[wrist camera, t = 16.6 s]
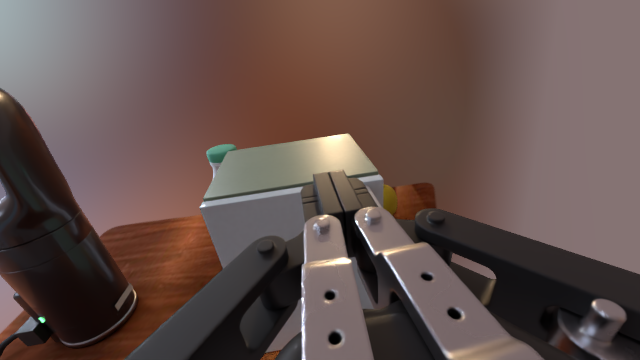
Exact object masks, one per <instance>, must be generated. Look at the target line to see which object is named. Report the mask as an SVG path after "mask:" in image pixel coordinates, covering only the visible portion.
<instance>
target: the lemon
mask: <svg viewBox="0 0 640 360" xmlns="http://www.w3.org/2000/svg"><path fill="white" fill-rule="evenodd" d="M396 208H397V196H396V193H395V191H394V190H393V189H392V188H391V187H390V186H388V185H384V184H383V209H385V210H387V211H388V212H389V213H390V214H391V215H393V214H394V213H395V211H396Z"/></svg>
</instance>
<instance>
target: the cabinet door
mask: <svg viewBox="0 0 640 360" xmlns="http://www.w3.org/2000/svg"><path fill="white" fill-rule="evenodd" d="M357 179H359V180H361V181H363V183H364V185H365V186H366V188H367V189H368V191H369V193H370V194H371V196H372V197H373V199H374V201H375V202H376V204H377V205H378V207H379V208H383V178H382V177H381V176H380V175H374V176H368V177H361V178H357ZM302 188H303V187H297V188H290V189H284V190H277V191H271V192H264V193H258V194H252V195H245V196H239V197H232V198H226V199H219V200H213V201H206V202H203V203H202V205H201V206H200V210H201V213H202V215H203V218H204V221H205V223H206V226H207V228H208V231H209V234H210V236H211V239H212V241H213V244H214V247H215V249H216V252H217V254H218V257H219V260H220V262H221V265H222V267H223V269H224V268H225V267H226V266H227V265H228V264H229V263H230V262H231V261H233V260H234V259H235V258H236V257H237V256H238V255H239V254H240V253H241V252H242V251H244V250H245V249H246V248H247V247H248V246H249V245H250V244H251V243H252V242H254V241H255V240H257V239H259V238H261V237H265V236H279V237H281V238H283V239H284V240H285V242H286V241H288V240H291V239H293V238H295V237H296V236H298V235H299V234H300V233H301V232H302V231H303V230H304V225H305V220H304V213H303V206H302V199H301V193H300V191H301V190H302ZM350 259H351V262H352V267H353V271H354V275H355V279H356V284H357V288H358V292H359V297H360V301H361V305H362V309H374V308H373V306H372V303H371V301H370V299H369V297H368V295H367V292H366V290H365V288H364V286H363V284H362V281H361V279H360V277H359V275H358V272H357V261H356V258H355V257H352V258H350ZM301 331H302V299H300V300H298V304H297V307H296V309H295V310H294V312H293V313H292V315H291V316H290V317H289V319H288V320H287V322H286V323H285V325H284V326H283V328H282V329H281V330H280V332H279V333H278V335H277V336H276V338H275V339H274V341H273V342H272V343H271V345H270V346H269V348H268V349H267V351H266V352H265V353H267V352H272V351H277V350H282V349H283V347H284V346H285V345H286V344H287V343H288V342H289V341H290V340H291V339H292V338H293V337H295V336H296V335H297V334H298V333H300V332H301Z"/></svg>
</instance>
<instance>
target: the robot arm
mask: <svg viewBox="0 0 640 360" xmlns="http://www.w3.org/2000/svg"><path fill="white" fill-rule="evenodd" d="M313 181H314V184H311V185H305V186H303V188H302V190H301V191H300V193H301V199H302V206H303V213H304V220H305V225H304V230H303V231H302V232H301V233H300V234H299V235H298V236H296V237H295V238H293V239H291V240H288V241H286V242H285V240H284V239H283V238H281V237H279V236H265V237H261V238H259V239H257V240H255V241H254V242H252V243H251V244H250V245H249V246H248V247H247V248H246V249H245V250H244V251H242V252H241V253H240V254H239V255H238V256H237V257H236V258H235V259H234V260H233V261H231V262H230V263H229V264H228V265H227V266H226V267H225V268H224V269H223V270H222V271H221V272H219V273H218V274H217V275H216V276H215V277H214V278H213V279H212V280H211V281H210V282H208V283H207V284H206V285H205V286H204V287H203V288H202V289H201V290H200V291H199V292H197V293H196V294H195V295H194V296H193V297H192V298H191V299H190V300H189V301H188V302H186V303H185V304H184V305H183V306H182V307H181V308H180V309H179V310H178V311H177V312H175V313H174V314H173V315H172V316H171V317H170V318H169V319H168V320H167V321H166V322H165V323H163V324H162V325H161V326H160V327H159V328H158V329H157V330H156V331H155V332H154V333H152V334H151V335H150V336H149V337H148V338H147V339H146V340H145V341H144V342H143V343H141V344H140V345H139V346H138V347H137V348H136V349H135V350H134V351H133V352H132V353H130V354H129V355H128V356H127V357H126V358H125V359H124V360H260V359H261V358H262V356H263V355H264V354H265V352H266V351H267V349H268V348H269V346H270V345H271V343H272V342H273V341H274V339H275V338H276V336H277V335H278V333H279V332H280V330H281V329H282V328H283V326H284V325H285V323H286V322H287V320H288V319H289V317H290V316H291V315H292V313H293V312H294V310H295V309H296V307H297V304H298V300H300V299H302V331H301V332H300V333H298V334H297V335H296V336H295V337H293V338H292V339H291V340H290V341H289V342H288V343H287V344H286V345H285V346H284V347H283V349H282V350H281V351H280V352H279V354H278V355H277V357H276V358H275V360H640V274H637V273H633V272H630V271H628V270H624V269H621V268H618V267H615V266H612V265H609V264H606V263H603V262H600V261H597V260H593V259H591V258H587V257H585V256H581V255H578V254H575V253H572V252H569V251H566V250H563V249H560V248H557V247H554V246H551V245H548V244H545V243H542V242H539V241H536V240H532V239H529V238H526V237H523V236H520V235H517V234H514V233H511V232H508V231H505V230H502V229H499V228H495V227H492V226H490V225H487V224H483V223H480V222H477V221H474V220H471V219H468V218H465V217H462V216H459V215H456V214H453V213H450V212H447V211H443V210H440V209H424V210H421V211H419V212H418V213H417V214H416V216H415V220H401V219H395V218H394V217H393V216H392V215H391V214H390V213H389V212H388V211H387V210H385V209H383V208H379V207H378V205H377V204H376V202H375V201H374V199H373V197H372V196H371V194H370V193H369V191H368V189H367V188H366V186H365V185H364V183H363V181H361V180H359V179H357V178H356V177H354V178H348V177H347V175H346V173H345V171H344V170H336V171H330V172H324V173H317V174H313ZM0 182H1V184H2V186H3V187H4V189H5V192H6V196H5V197H4V198H3V199H1V200H0V275H1V276H2V278H3V279H4V280H5V281H6V282H7V283H8V284H9V285H10V286H11V287H12V288H13V289H14V290H15V291H16V293H15V294H14V299H15V300H16V301H17V303H19V304H20V306H21V307H22V308H23V309H24V310H25V311H26V312H27V313H28V314H29V315H30V316H31V317H30V318H29V319H28V320H27V321H26V322H25V323H24V325H23V326H22V327H21V328H20V329H19V330H18V331H17V332H16V333H14V334H13V335H11V336H10V337H8V338H7V339H6V340H4V341H3V342H2V343H1V344H0V356H1V355H2V353H3V351H4V349H5V348H6V346H7V345H9V344H10V343H11V342H12V341H13V340H15V339H16V338H19V339H20V340H21V341H22V342H24V343H25V344H26V345H27V346H32V345H37V344H43V343H45V342H46V341H47V340H48V339H49V337H51V338H52V339H53V340H54V341H55V342H62V343H63V344H64V345H65V346H67V347H69V348H81V347H85V346H89V345H91V344H94V343H96V342H98V341H100V340H102V339H104V338H106V337H107V336H109V335H110V334H112V333H113V332H114V331H116V330H117V329H118V328H119V327H121V326H122V325H123V324H124V323H125V322H126V321H127V320H128V318H129V317H130V316H131V315H132V313H133V312H134V310H135V308H136V306H137V303H138V296H137V294H136V293H135V291H134V290H133V287H132V285H131V283H130V284H129V283H128V282H127V280H126V278H125V277H124V275H123V274H122V272H121V270H120V269H119V267H118V266H117V264H116V263H115V261H114V259H113V258H112V256H111V255H110V253H109V252H108V250H107V249H106V247H105V245H104V244H103V242H102V241H101V239H100V238H99V236H98V234H97V233H96V231H95V230H94V228H93V227H92V225H91V224H90V222H89V221H88V219H87V218H86V216H85V215H84V213H83V212H82V210H81V208H80V207H79V205H78V204H77V202H76V200H75V199H74V197H73V195H72V192H71V189H70V187H69V185H68V183H67V181H66V179H65V177H64V175H63V174H62V172H61V170H60V169H59V167H58V165H57V164H56V162H55V160H54V158H53V156H52V155H51V153H50V151H49V149H48V147H47V145H46V144H45V141H44V140H43V138H42V136H41V134H40V132H39V130H38V129H37V127H36V125H35V124H34V122H33V120H32V119H31V117H30V116H29V114H28V113H27V111H26V110H25V109H24V107H23V106H22V105H21V104H20V103H19V102H18V101H17V100H16V99H15V98H14V97H13V96H12V95H10V94H9V93H8V92H6V91H5V90H3V89H1V88H0ZM452 253H455V254H457V255H460V256H462V257H464V258H467V259H469V260H472V261H474V262H477V263H479V264H481V265H483V266H486V267H488V268H489V269H491V270H492V271H493V272H494V274H495V275H496V279H490V278H487V277H485V276H483V275H480V274H478V273H476V272H474V271H471V270H469V269H467V268H465V267H462V266H460V265H458V264H456V263H453V262H451V258H452ZM352 257H355V258H356V261H357V272H358V275H359V277H360V279H361V281H362V284H363V286H364V288H365V290H366V292H367V295H368V297H369V299H370V301H371V303H372V306H373V308H374V309H362V305H361V301H360V297H359V292H358V288H357V284H356V279H355V275H354V271H353V267H352V262H351V259H350V258H352Z"/></svg>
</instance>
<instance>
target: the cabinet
mask: <svg viewBox="0 0 640 360" xmlns="http://www.w3.org/2000/svg"><path fill="white" fill-rule="evenodd" d="M336 170H344V171H345V173H346V175H347V177H348V178H354V177H356V178H361V177H368V176H374V175H378V170H377V169H376V168H375V167H374V165H373V164H372V163H371V161H370V160H369V159H368V158H367V156H366V155H365V154H364V153H363V151H362V150H361V149H360V148H359V146H358V145H357V144H356V143H355V142H354V140H353V139H352V137H351V136H350V135H349V134H343V135H336V136H329V137H323V138H316V139H309V140H302V141H296V142H289V143H282V144H275V145H268V146H261V147H255V148H248V149H241V150H234V151H228V152H227V154H226V156H225V157H224V159H223V161H222V163H221V165H220V167H219V169H218V171H217V173H216V175H215V177H214V179H213V181H212V182H211V184H210V187H209V188H208V190H207V192H206V194H205V196H204V198H203V200H204V202H206V201H213V200H219V199H226V198H232V197H239V196H245V195H252V194H258V193H264V192H271V191H277V190H284V189H290V188H297V187H303V186H305V185H311V184H314V181H313V174H317V173H324V172H330V171H336Z"/></svg>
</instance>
